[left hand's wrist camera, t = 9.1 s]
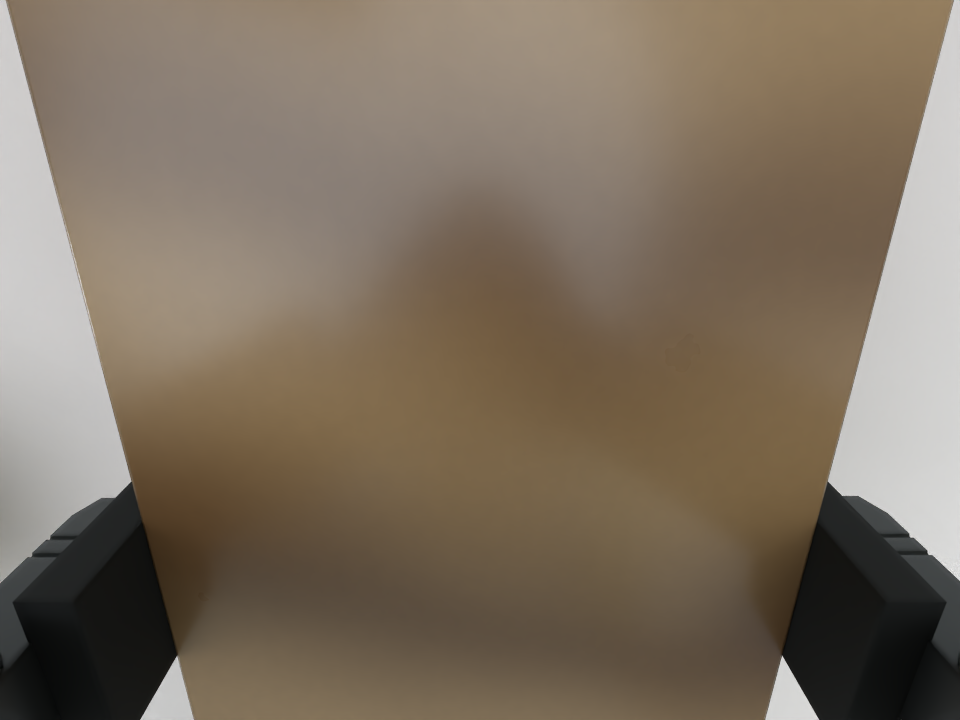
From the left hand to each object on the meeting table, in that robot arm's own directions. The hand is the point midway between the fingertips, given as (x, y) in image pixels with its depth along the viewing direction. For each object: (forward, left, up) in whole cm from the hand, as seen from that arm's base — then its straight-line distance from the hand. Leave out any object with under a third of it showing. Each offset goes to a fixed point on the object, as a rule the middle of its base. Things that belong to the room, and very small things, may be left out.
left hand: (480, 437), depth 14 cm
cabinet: (+5, -4, -4) cm, 7 cm away
